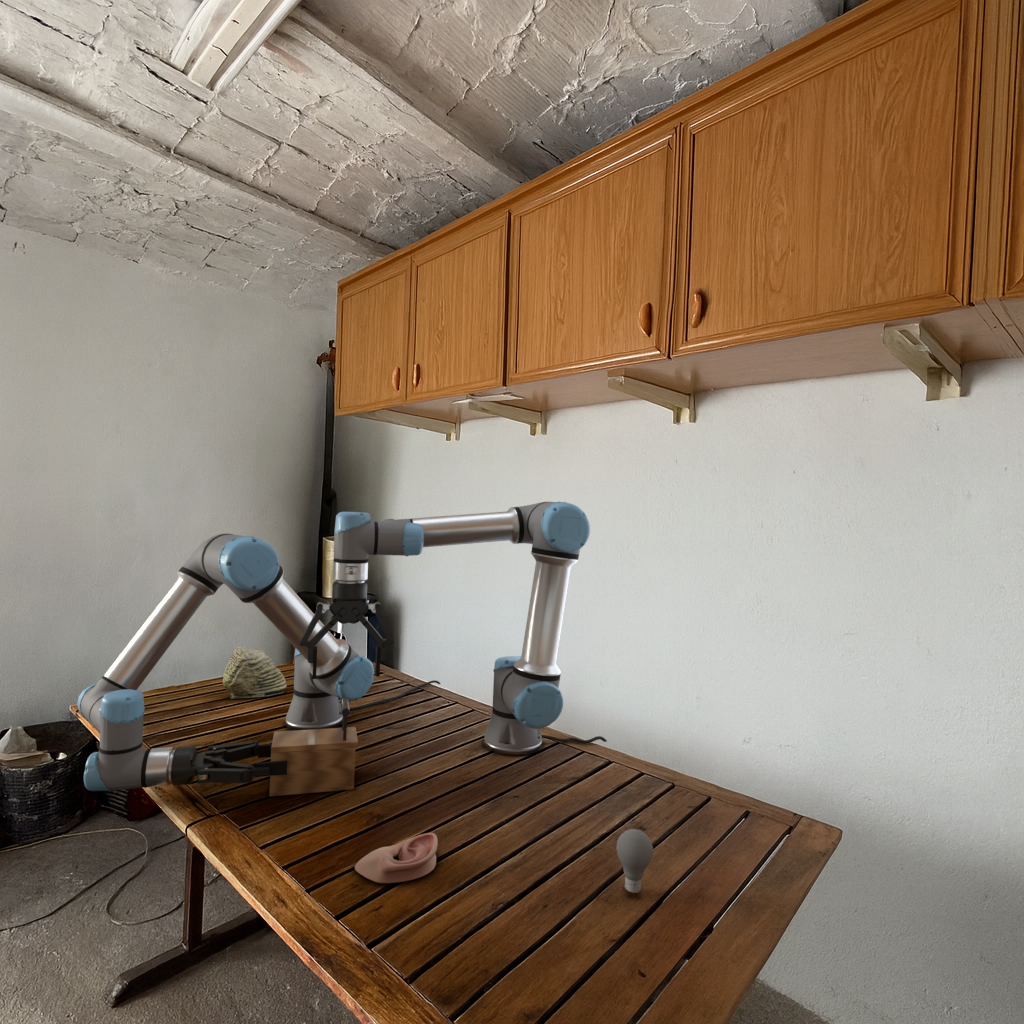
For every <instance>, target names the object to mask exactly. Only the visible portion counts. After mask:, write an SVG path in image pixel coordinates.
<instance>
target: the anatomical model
mask: <svg viewBox="0 0 1024 1024" xmlns="http://www.w3.org/2000/svg"><path fill="white" fill-rule="evenodd" d="M438 844H439V841H438V837H437V834H436V833H435V832H426V833H421V834H419V835H415V836H412V837H410V838H408V839H405V840H403V841H400V842H399V843H396V844H394V845H389V846H388V845H387V846H382V847H378V848H377V849H376V848H375V849H374V850H372V851H370V852H369V853H368V854H366V855H364V856H363V857H362V858H360V860H358V861H357V862H356V864H355V865H354V870H355V871H356V873H358V874H360V875H361V876H363V877H364V878H365V879H367V880H370V881H372V882H374V883H377V884H394V883H402V882H408V881H412V880H416V879H419V878H421V877H424V876H426V875H428V874H430V873H431V872H432V871H433V870H434V869H435V867H436V865H437V855H436V852H437V850H438V846H439V845H438Z"/></svg>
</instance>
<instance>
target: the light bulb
mask: <svg viewBox="0 0 1024 1024" xmlns="http://www.w3.org/2000/svg"><path fill="white" fill-rule="evenodd" d="M615 849H616V854H617V857H618V859H619V861H620V863H621V865H622V867H623V873H624V874H623V875H624V876H625V878H624V888H625V890H627V891H628V892H630V893H634V894H635V893H639V892H640V891H641V889H642V887H641V886H642V879H643V877H644V875H645V871H646V868H647V867H648V866H649V864H650V863H651V861H652V859H653V855H654V847H653V843H652V841H651V838H649V836H648V835H647V834H646V833H645V832H643V831H642V830H641V829H636V828H629V829H627V830H625V831H623V832H622V833H621V834H620V835H619V837H618V839H617V841H616V847H615Z"/></svg>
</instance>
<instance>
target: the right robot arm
mask: <svg viewBox="0 0 1024 1024" xmlns="http://www.w3.org/2000/svg"><path fill="white" fill-rule="evenodd" d="M589 520H590V519H589V518H588V516H587V514H586V513H585V512H584V511H583V509H581V508H580V507H579V506H578V505H576V504H573V503H570V502H567V501H541V502H536V503H532V504H527V505H522V506H521V505H520V506H512V507H509V508H508V509H507V510H506V511H495V512H494V511H493V512H482V513H481V512H480V513H465V514H452V515H439V516H438V515H437V516H425V517H413V518H399V519H397V518H396V519H394V518H388V519H384V520H382V521H374V520H372V519H371V515H370V513H369V512H362V511H361V512H359V511H340V512H338V513H337V514H336V515H335V524H334V531H333V532H334V534H333V562H332V563H333V564H332V579H333V580H334V581H333V583H332V585H331V587H332V588H331V591H332V592H331V601H330V603H323V602H322V601H319V602H317V604H316V610H315V613H314V616H313V618H312V620H311V622H310V623H309V625H308V627H307V629H306V631H305V632H304V634H303V636H302V638H301V639H300V645H301V646H305V647H307V648H308V663H313V678H312V679H316V668H317V646H315V645H316V644H317V643H318V642H319V641H320V640H321V639H322V638H323V637H324V636H325V634H326V633H327V632H328V631H329V632H330V630H331V629H332V628H333V627H334V626H336V624H337V623H340V624H342V625H345V624H352V625H353V624H354V625H355V624H357V623H359V622H360V623H361V624H362V626H363V627H365V629H366V630H367V632H368V633H369V634H370V635H371V636H372V637H373V638H374V640H375V641H376V642H377V643H378V644H376V646H375V667H374V676H375V677H376V678H377V677H378V678H379V677H380V676H381V674H380V673H381V662H385V660H386V652H387V651H386V648H387V646H390V645H393V644H394V643H395V639H394V637H393V635H392V632H391V631H390V629H389V626H388V624H387V622H386V619H385V618H384V616H383V614H382V606H381V603H380V602H379V601H375V602H373V603H368V583H367V582H366V581H368V579H369V577H368V575H369V556H378V555H379V556H401V557H402V556H403V557H404V556H405V557H411V556H412V557H413V556H420V554H422V553H423V548H424V549H425V548H434V547H435V548H437V547H445V546H446V547H447V546H460V545H472V544H483V543H496V542H510V543H512V544H513V545H517V544H527V545H531V551H530V554H531V556H532V557H533V558H534V560H535V567H534V574H533V579H532V585H531V591H530V598H529V605H528V611H527V616H526V623H525V630H524V637H523V642H522V643H523V644H522V650H521V654H520V655H516V656H515V655H512V656H511V655H510V656H509V655H507V656H500V657H498V658H497V659H496V660H495V661H494V668H493V683H492V684H493V686H492V687H493V689H492V711H491V717H490V719H489V721H488V724H487V727H486V731H485V733H484V736H483V737H484V739H483V744H484V746H485V748H487V749H488V750H489V751H492V752H493V753H498V754H501V755H507V756H526V755H531V754H534V753H536V752H538V751H539V750H541V748H542V747H543V739H546V740H552V741H556V742H560V743H567V742H577V743H579V744H583V745H584V744H585V745H586V744H590V743H593V742H595V741H598V740H601V741H602V742H604V743H607V742H608V740H607V739H606V738H605V737H603V736H601V735H598V736H595V737H592V738H589V739H579V738H577V737H567V738H566V737H565V738H560V737H557V736H552V735H546V734H542V733H541V729H544V728H547V727H549V726H551V725H552V724H553V723H554V722H556V721H557V719H558V718H559V717H560V715H561V714H562V712H563V708H564V697H563V693H562V692H561V690H560V689H559V687H560V680H561V673H562V671H561V669H560V668H559V666H558V665H557V658H558V653H559V652H558V651H559V645H560V638H561V633H562V627H563V619H564V613H565V606H566V600H567V594H568V587H569V581H570V575H571V568H572V566H574V565H575V564H576V563H577V562H579V557H580V551H581V549H582V548H583V547H584V546H585V545H586V544H587V542H588V540H589V538H590V533H591V524H590V521H589ZM328 610H329V611H330V613H331V614H332V616H331V617H330V618H329V620H328V621H327V622H326V623H324V624H323V625H324V626H323V627H322V628H321V630H320V631H319V632H318V633H317V634H316V635H315V636H314V637H313V638H312V639H311V640H310V641H309V640H308V638H309V637H310V635H311V633H312V631H313V630H314V628H315V626H316V624H317V622H318V621H319V620H320V619H321V617H322V614H324V615H325V613H326V612H327V611H328ZM369 610H371V612H372V613H373V614H375V616H376V618H377V620H378V622H379V624H380V627H381V629H382V632H384V635H385V637H386V638H383V637H382V635H381V634H380V633H379V632H378V631H377V629H375V627H374V626H373V625H372V624H371V622H370V621H369V620H368V619H367V617H366V616H365V615H366V613H367V612H368V611H369Z"/></svg>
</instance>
